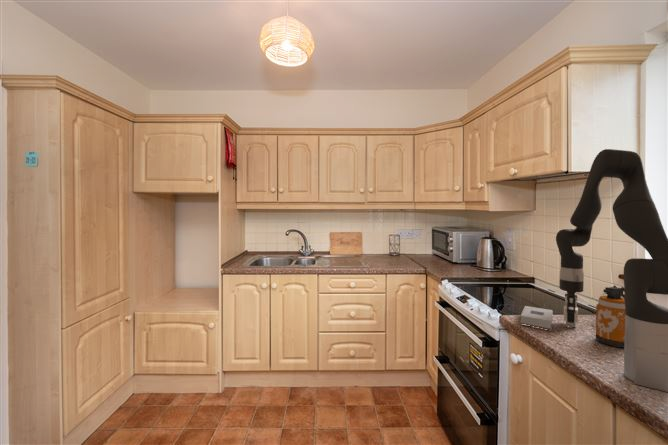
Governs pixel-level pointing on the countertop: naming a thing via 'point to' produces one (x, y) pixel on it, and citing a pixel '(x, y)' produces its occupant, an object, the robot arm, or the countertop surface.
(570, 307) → the cream rectangular block
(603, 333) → the canister
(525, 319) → the grey rectangular block
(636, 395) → the countertop surface
